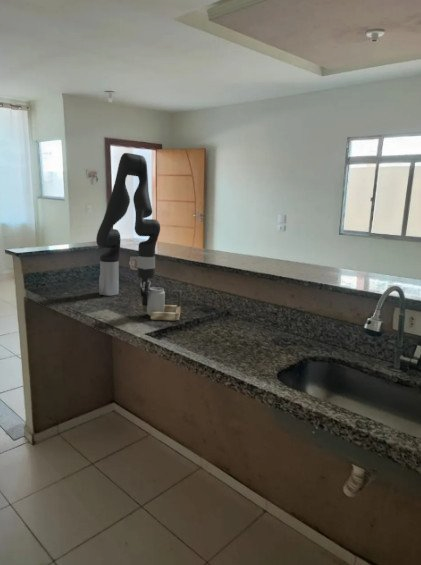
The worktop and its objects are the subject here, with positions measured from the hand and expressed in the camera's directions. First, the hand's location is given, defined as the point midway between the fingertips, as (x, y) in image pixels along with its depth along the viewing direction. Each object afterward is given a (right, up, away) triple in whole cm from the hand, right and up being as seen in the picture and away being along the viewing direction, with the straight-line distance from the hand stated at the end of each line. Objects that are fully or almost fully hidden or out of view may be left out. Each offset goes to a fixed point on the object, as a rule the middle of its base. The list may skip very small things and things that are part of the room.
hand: (144, 305), depth 176 cm
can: (+5, -4, +1) cm, 6 cm away
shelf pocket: (+10, -4, +1) cm, 11 cm away
